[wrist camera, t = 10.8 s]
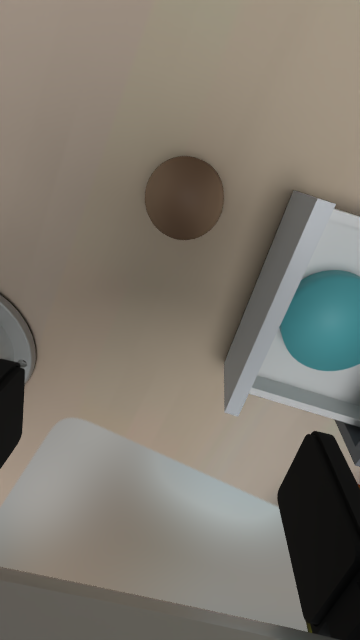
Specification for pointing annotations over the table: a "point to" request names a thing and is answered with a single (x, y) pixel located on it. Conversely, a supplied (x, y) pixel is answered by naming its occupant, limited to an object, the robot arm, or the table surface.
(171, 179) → the brown short rounded cylinder
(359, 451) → the housing
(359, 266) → the grey drawer
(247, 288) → the table surface
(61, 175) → the table surface
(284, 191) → the table surface
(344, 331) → the disc
